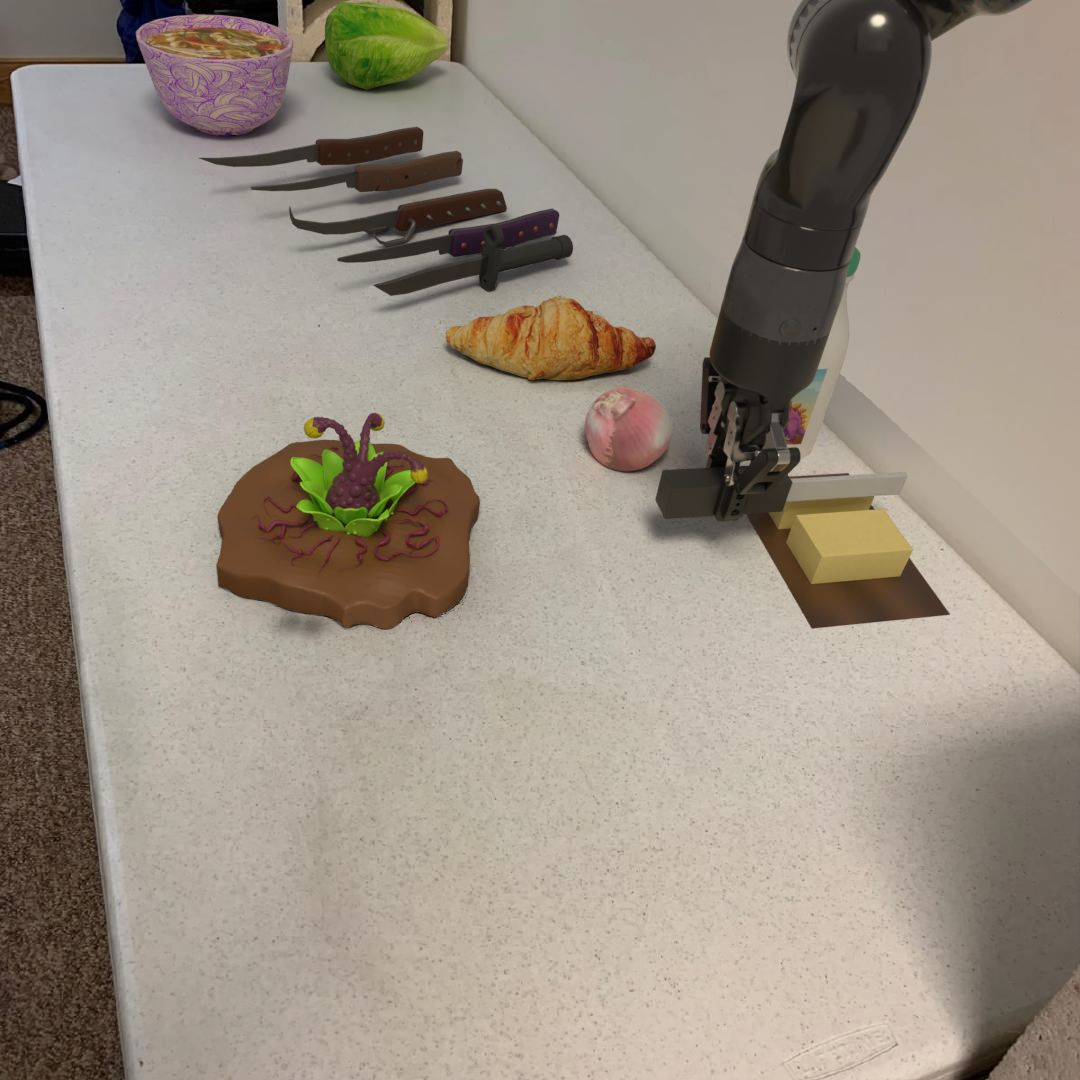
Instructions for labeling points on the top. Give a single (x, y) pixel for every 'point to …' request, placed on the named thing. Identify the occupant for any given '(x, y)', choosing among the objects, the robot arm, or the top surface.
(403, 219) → the knife set
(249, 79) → the bowl of food
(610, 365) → the croissant
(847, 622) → the butter board
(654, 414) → the onion
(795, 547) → the butter block
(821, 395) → the milk bottle
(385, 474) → the plant
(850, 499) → the butter slice
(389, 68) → the lettuce
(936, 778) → the top surface
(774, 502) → the butter knife
